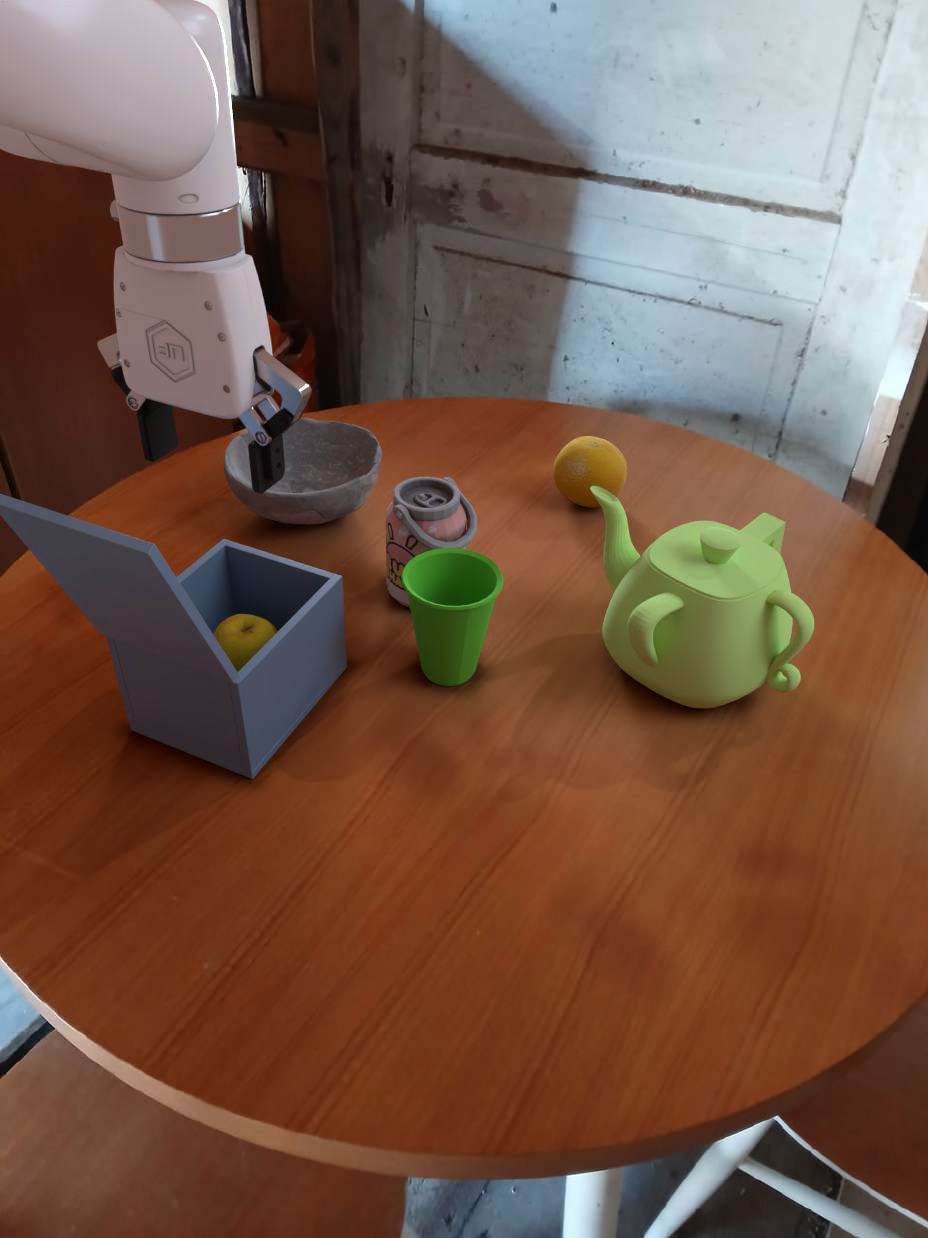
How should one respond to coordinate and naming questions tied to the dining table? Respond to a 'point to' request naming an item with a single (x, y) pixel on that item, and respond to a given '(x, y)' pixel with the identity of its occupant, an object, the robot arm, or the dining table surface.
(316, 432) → the bowl
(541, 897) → the dining table surface
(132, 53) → the robot arm
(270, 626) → the apple
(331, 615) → the chest
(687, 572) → the teapot
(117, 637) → the lid
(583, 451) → the fruit
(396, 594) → the beverage can
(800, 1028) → the dining table surface
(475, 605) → the cup
